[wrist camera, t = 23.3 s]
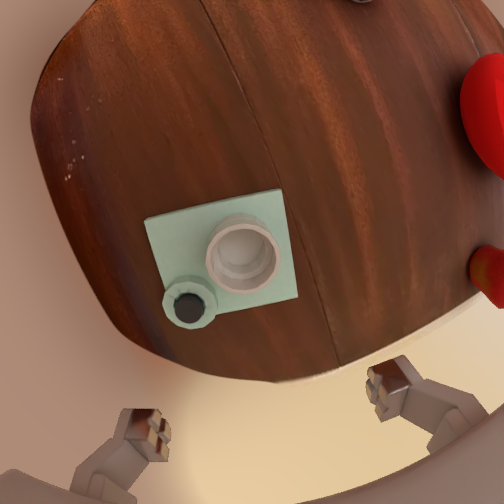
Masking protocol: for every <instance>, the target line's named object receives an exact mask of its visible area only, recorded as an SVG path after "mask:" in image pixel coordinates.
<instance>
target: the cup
mask: <svg viewBox="0 0 504 504" xmlns="http://www.w3.org/2000/svg"><path fill="white" fill-rule="evenodd" d="M352 1H355V2H359V3H366V2H369V1H373V0H352Z"/></svg>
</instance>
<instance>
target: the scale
mask: <svg viewBox="0 0 504 504" xmlns="http://www.w3.org/2000/svg"><path fill="white" fill-rule="evenodd" d="M237 213H245V214H250V215H254V216H256V217H257V218H259V219H260V220H262V221H264V223H265V224H266V225H267V227H268V228H269V230H270V231H271V233H272V235H273V237H274V238H275V240H276V242H277V244H278V245H279V250H280V256H281V262H280V266H279V270H278V273H277V275H276V276H275V277H274V279H273V280H272V281H271V283H270V284H269V285H267V286H266V287H264V288H263V289H261V290H259V291H257V292H253V293H249V294H237V293H230V292H228V291H226V290H224V289H223V288H221V287H219V286H218V285H217V284H216V283H215V282H214V281H213V279H212V278H211V277H210V276H209V273H208V270H207V266H206V261H205V260H206V254H207V247H208V243H209V239H210V234H211V232H212V230H213V229H214V227H215V226H216V224H217V223H218V222H219V221H221V220H222V219H224V218H225V217H227V216H228V215H233V214H237ZM144 224H145V227H146V231H147V234H148V238H149V241H150V244H151V248H152V251H153V254H154V257H155V260H156V263H157V266H158V269H159V272H160V275H161V278H162V281H163V284H164V287H165V290H166V291H165V294H164V298H163V303H162V305H163V308H164V311H165V313H166V316H167V317H168V318H169V319H170V320H171V321H172V322H173V323H175V324H176V325H177V326H180V327H184V328H187V329H196V328H201V327H205V326H206V325H207V324H208V323H210V322H211V321H212V320H213V319H214V318H215V315H216V314H221V313H226V312H231V311H236V310H241V309H246V308H251V307H256V306H261V305H265V304H270V303H274V302H279V301H283V300H288V299H292V298H296V297H298V293H297V286H296V279H295V272H294V265H293V258H292V251H291V245H290V238H289V232H288V226H287V220H286V214H285V208H284V202H283V196H282V190H281V189H279V188H277V189H272V190H267V191H262V192H257V193H252V194H247V195H242V196H237V197H232V198H228V199H223V200H219V201H214V202H210V203H205V204H201V205H197V206H193V207H188V208H184V209H180V210H176V211H172V212H168V213H164V214H160V215H156V216H153V217H149V218H147V219H146V220H144ZM187 293H190V294H194V295H196V296H198V297H199V298H200V299H201V301H202V303H203V311H202V316H201V318H200V320H198V321H197V322H195V323H192V324H188V323H184V322H182V321H180V320H179V319H178V318H177V317H176V315H175V306H176V303H177V300H178V298H179V297H180V296H181V295H183V294H187Z"/></svg>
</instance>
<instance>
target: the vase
mask: <svg viewBox="0 0 504 504" xmlns="http://www.w3.org/2000/svg"><path fill="white" fill-rule="evenodd" d="M460 109H461V117H462V121H463V125H464V129H465V131H466V134H467V137H468V139H469V141H470V143H471V145H472V147H473V149H474V150H475V152H476V153H477V154H478V156H479V157H480V158H481V160H482V161H483V162H484V163H485V165H486V166H487V167H488V168H489V169H491V170H492V171H493V172H494V173H496V174H497V175H498V176H499V177H501V178H502V179H503V180H504V55H503V54H499V53H493V54H488V55H485V56H483V57H481V58H479V59H478V60H477V61H476V62H475V63H474V64H473V66H472V67H471V68H470V69H469V70H468V72H467V74H466V75H465V78H464V81H463V84H462V88H461V92H460Z"/></svg>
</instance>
